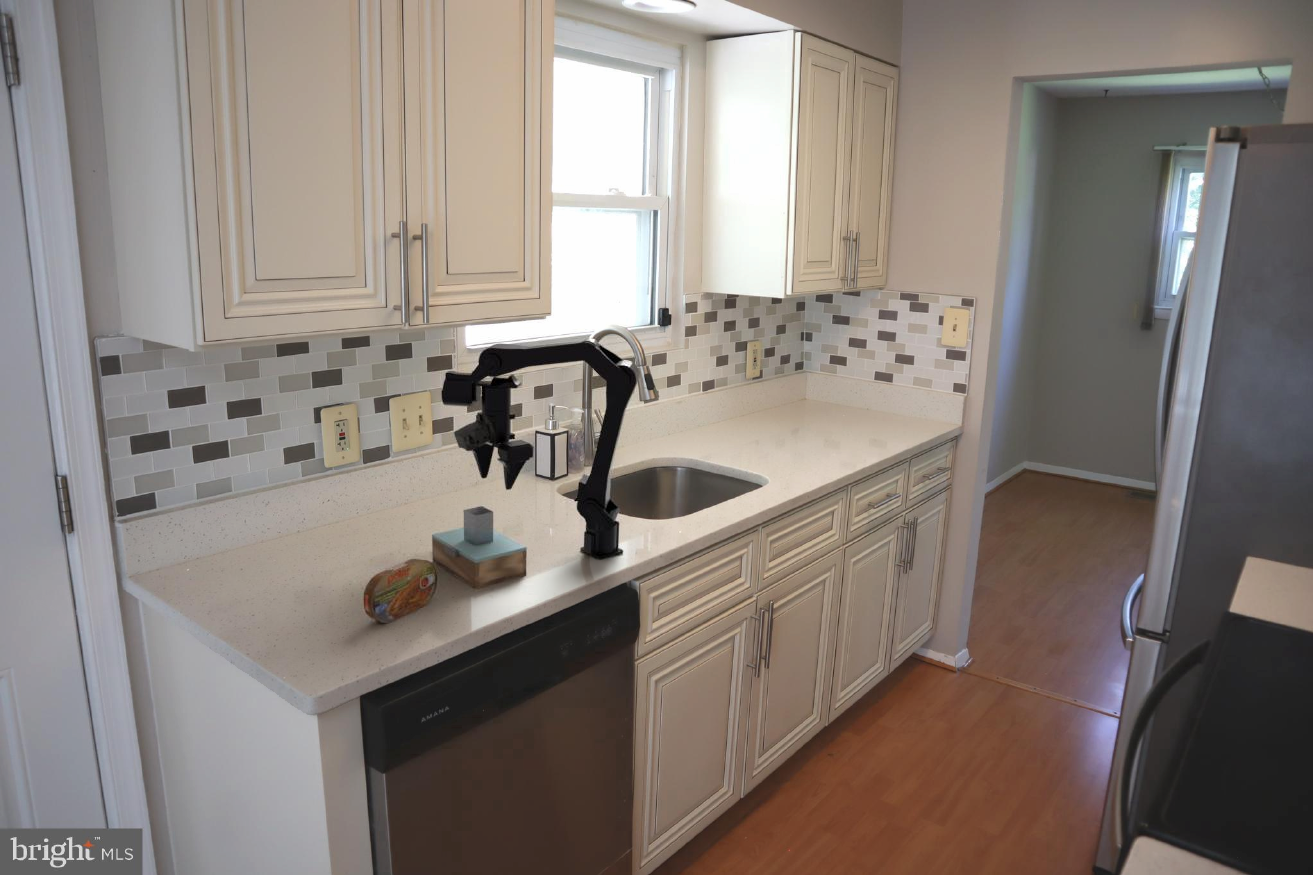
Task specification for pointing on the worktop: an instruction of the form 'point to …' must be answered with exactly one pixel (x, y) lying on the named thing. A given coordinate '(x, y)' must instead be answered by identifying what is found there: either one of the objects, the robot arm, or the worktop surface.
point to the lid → (478, 553)
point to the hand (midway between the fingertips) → (496, 483)
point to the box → (480, 566)
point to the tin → (400, 590)
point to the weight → (478, 525)
